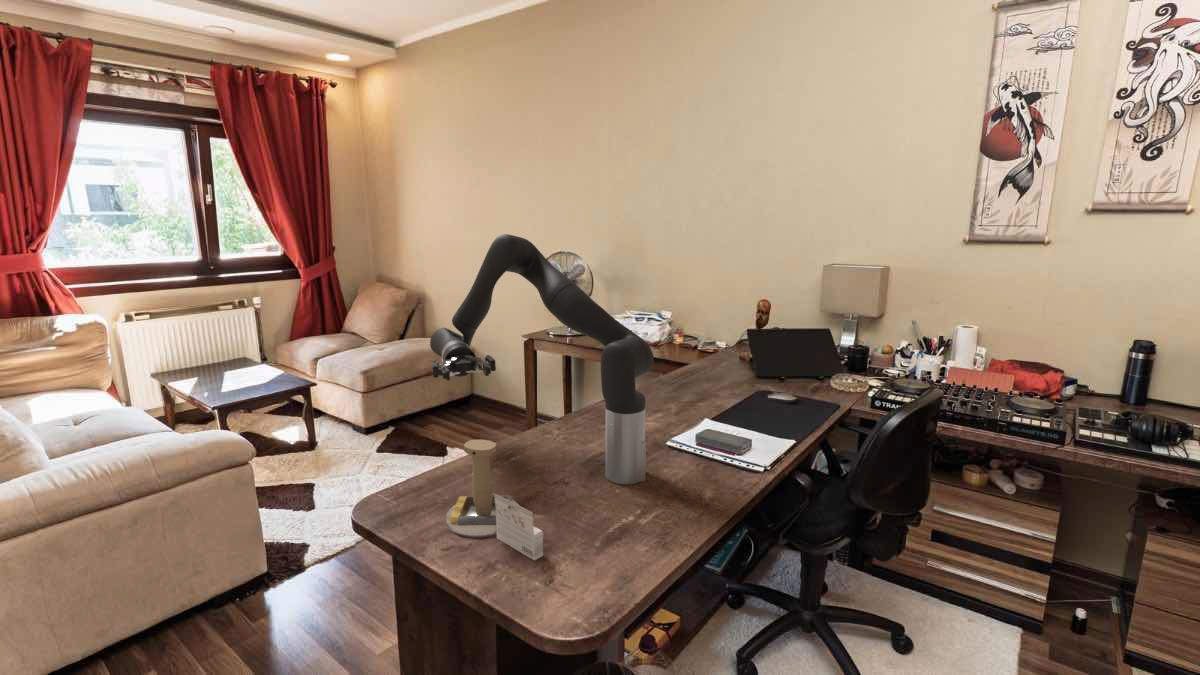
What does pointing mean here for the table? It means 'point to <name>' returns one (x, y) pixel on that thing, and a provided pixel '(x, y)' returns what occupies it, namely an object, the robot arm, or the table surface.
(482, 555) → the table surface
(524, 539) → the ink cartridge box
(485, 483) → the handle
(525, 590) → the table surface
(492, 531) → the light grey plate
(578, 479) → the table surface
